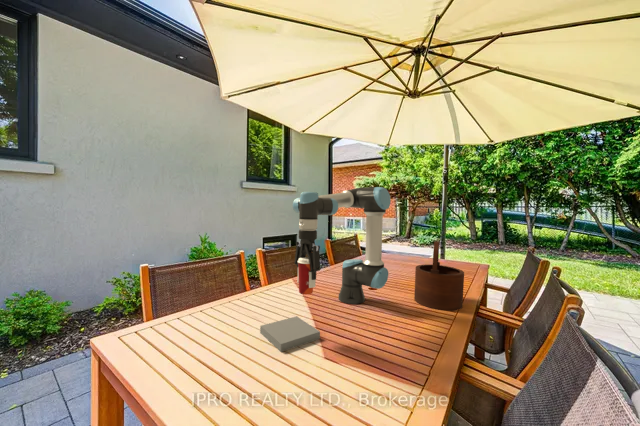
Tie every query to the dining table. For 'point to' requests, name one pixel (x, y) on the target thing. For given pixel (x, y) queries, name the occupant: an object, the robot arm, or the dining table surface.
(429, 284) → the wooden bucket
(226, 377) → the dining table surface
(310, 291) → the paper cup
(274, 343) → the slate tile
